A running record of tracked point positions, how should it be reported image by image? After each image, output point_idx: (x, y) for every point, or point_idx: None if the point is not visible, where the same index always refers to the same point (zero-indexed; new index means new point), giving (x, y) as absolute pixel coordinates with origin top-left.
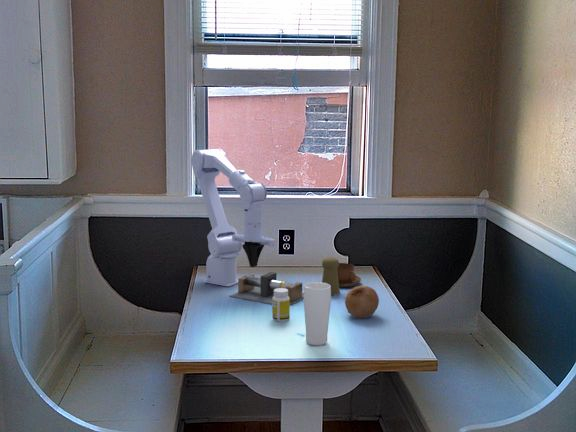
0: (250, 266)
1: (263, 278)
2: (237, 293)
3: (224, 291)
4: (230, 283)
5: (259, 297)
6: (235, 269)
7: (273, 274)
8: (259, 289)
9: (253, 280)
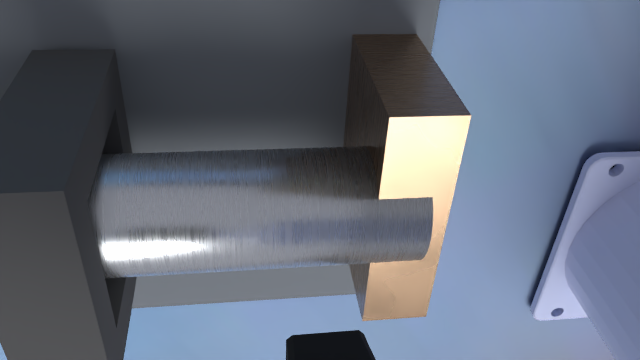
0: (350, 333)
1: (9, 176)
2: (412, 7)
3: (583, 24)
4: (594, 209)
5: (105, 11)
6: (625, 350)
7: (9, 350)
8: None
9: (265, 183)
